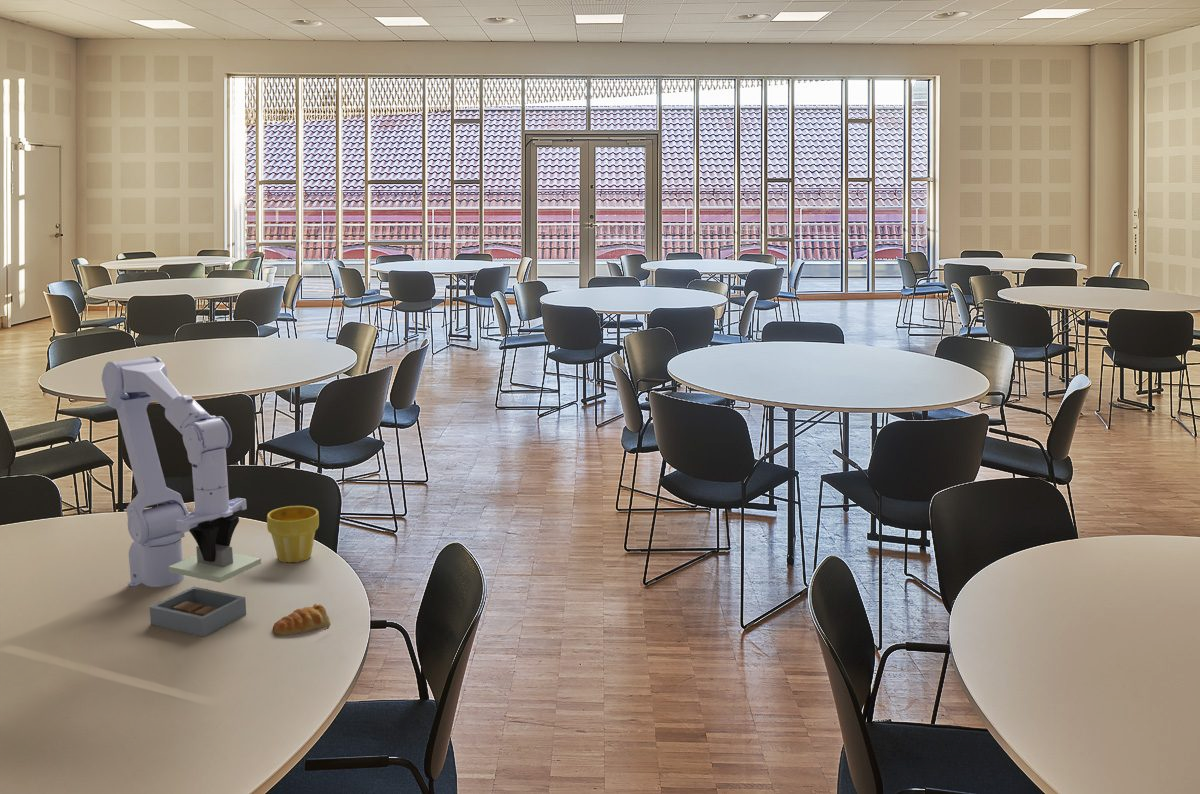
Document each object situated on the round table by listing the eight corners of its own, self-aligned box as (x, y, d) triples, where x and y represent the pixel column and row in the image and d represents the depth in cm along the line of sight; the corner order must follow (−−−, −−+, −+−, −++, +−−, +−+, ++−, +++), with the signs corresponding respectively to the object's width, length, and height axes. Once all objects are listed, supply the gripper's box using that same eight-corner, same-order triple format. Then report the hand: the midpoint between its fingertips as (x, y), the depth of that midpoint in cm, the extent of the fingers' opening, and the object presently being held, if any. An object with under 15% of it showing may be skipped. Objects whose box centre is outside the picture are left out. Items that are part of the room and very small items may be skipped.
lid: (169, 574, 171) (167, 550, 170) (211, 556, 180) (210, 533, 179) (220, 586, 167) (218, 561, 166) (261, 566, 176) (259, 542, 175)
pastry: (282, 645, 161) (281, 624, 160) (265, 632, 166) (264, 611, 165) (333, 629, 167) (332, 609, 166) (316, 617, 172) (315, 597, 171)
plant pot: (329, 558, 200) (327, 513, 199) (283, 570, 193) (280, 524, 191) (306, 545, 208) (304, 502, 206) (260, 556, 201) (257, 512, 199)
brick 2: (195, 622, 167) (194, 612, 166) (208, 616, 170) (207, 605, 169) (212, 627, 165) (212, 616, 165) (225, 620, 168) (225, 609, 168)
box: (151, 628, 166) (149, 606, 166) (195, 606, 175) (193, 586, 175) (204, 641, 162) (202, 618, 161) (246, 618, 171) (245, 597, 170)
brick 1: (172, 617, 169) (172, 607, 168) (186, 611, 172) (185, 600, 171) (190, 621, 167) (189, 611, 167) (203, 615, 170) (202, 604, 170)
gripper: (196, 499, 162) (201, 575, 165) (257, 478, 175) (261, 548, 178) (165, 494, 165) (171, 568, 167) (228, 473, 178) (232, 542, 181)
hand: (215, 557), depth 173 cm, fingers closed on lid, 2 cm apart
